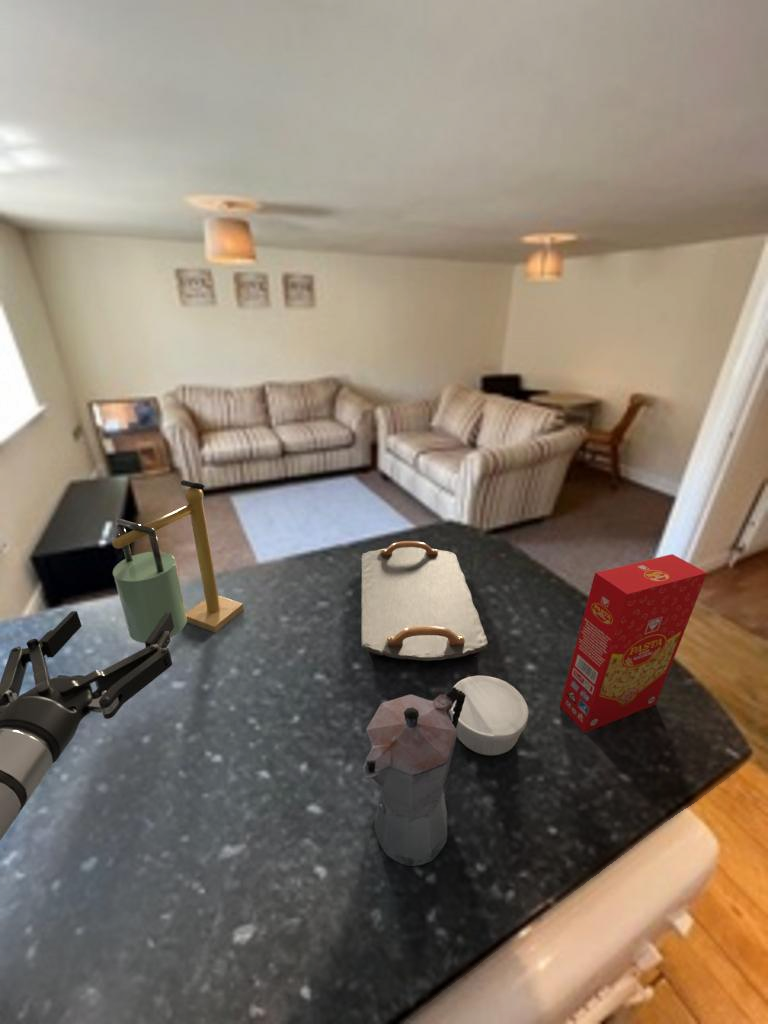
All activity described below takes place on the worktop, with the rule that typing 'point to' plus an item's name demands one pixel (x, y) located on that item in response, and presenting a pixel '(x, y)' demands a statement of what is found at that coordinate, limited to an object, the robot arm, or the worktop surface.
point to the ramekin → (490, 715)
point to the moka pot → (412, 773)
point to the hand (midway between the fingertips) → (123, 618)
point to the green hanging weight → (148, 587)
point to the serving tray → (417, 605)
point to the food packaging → (629, 638)
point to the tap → (214, 607)
